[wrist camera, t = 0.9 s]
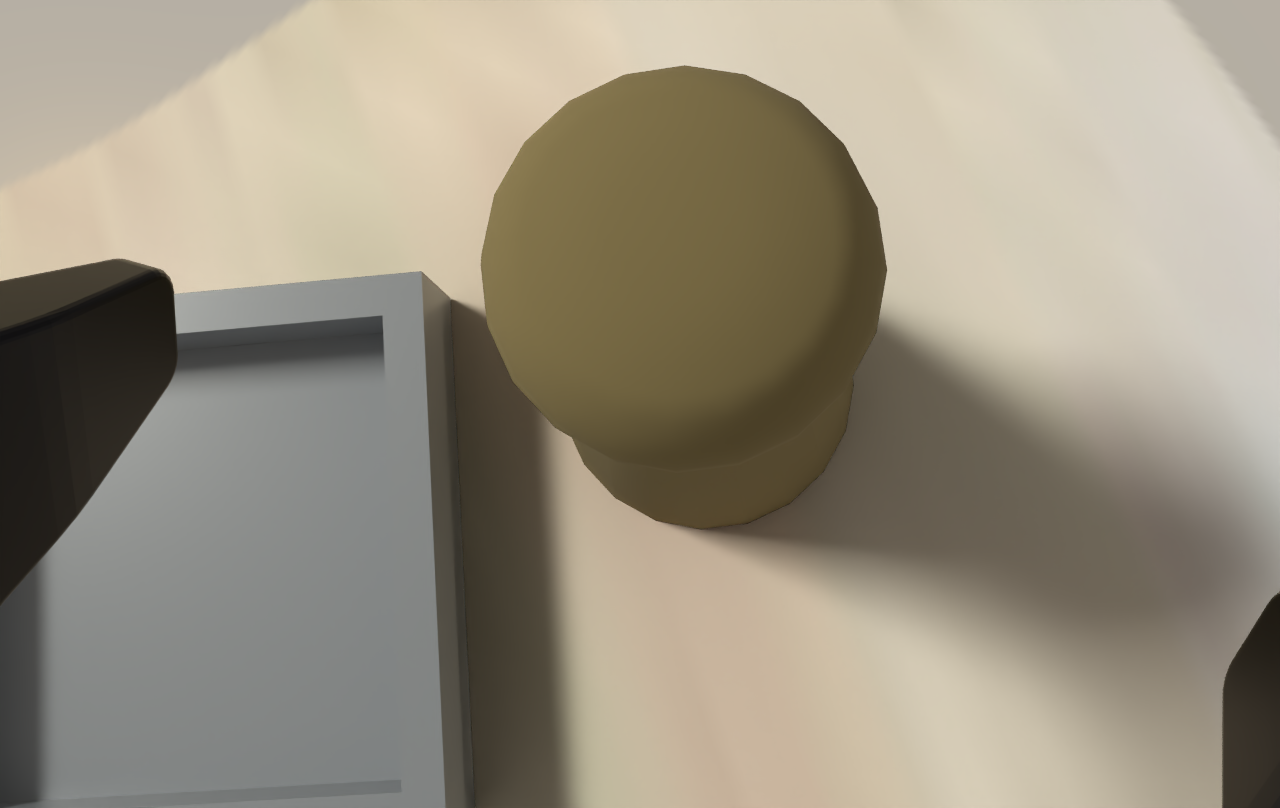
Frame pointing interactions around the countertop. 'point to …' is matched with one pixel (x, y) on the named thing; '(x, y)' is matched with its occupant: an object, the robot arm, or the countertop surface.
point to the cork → (687, 289)
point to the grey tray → (261, 574)
